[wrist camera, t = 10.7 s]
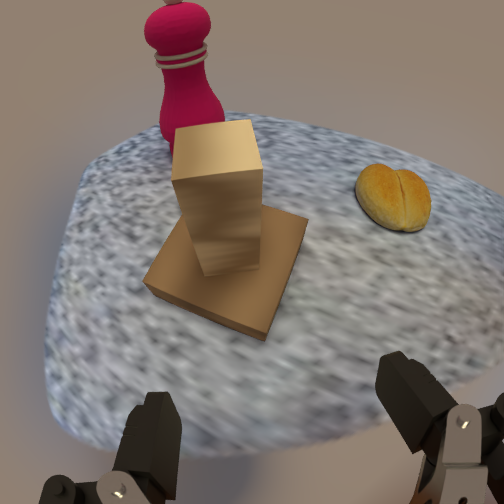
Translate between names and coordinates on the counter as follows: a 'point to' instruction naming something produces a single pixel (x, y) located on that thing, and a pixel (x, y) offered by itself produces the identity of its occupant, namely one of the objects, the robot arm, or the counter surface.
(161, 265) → the walnut block
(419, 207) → the bread roll
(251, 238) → the beech block
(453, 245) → the counter surface
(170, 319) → the counter surface
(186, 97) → the pepper mill
